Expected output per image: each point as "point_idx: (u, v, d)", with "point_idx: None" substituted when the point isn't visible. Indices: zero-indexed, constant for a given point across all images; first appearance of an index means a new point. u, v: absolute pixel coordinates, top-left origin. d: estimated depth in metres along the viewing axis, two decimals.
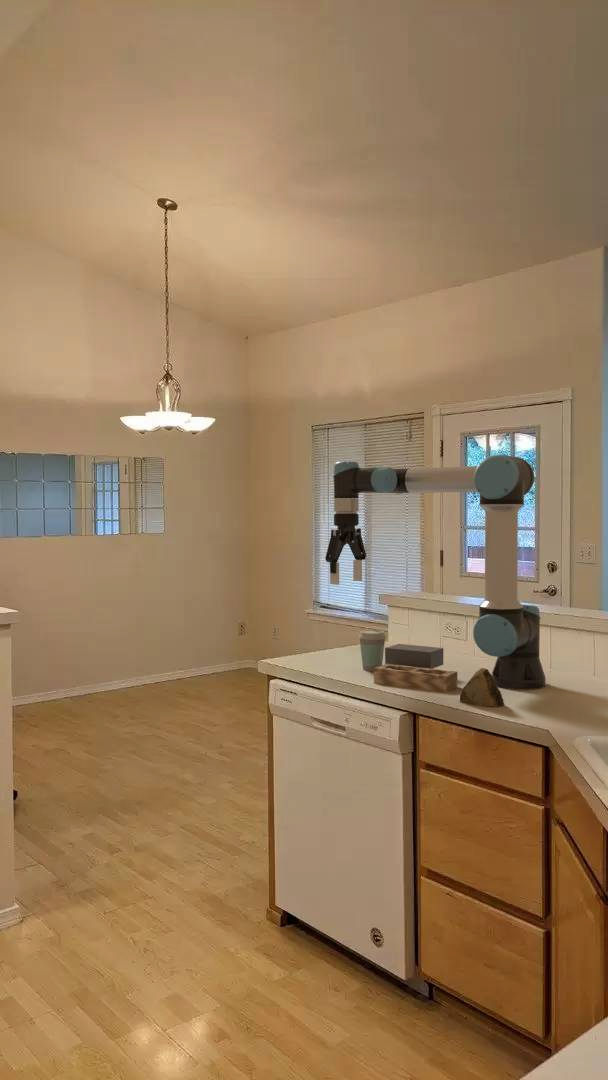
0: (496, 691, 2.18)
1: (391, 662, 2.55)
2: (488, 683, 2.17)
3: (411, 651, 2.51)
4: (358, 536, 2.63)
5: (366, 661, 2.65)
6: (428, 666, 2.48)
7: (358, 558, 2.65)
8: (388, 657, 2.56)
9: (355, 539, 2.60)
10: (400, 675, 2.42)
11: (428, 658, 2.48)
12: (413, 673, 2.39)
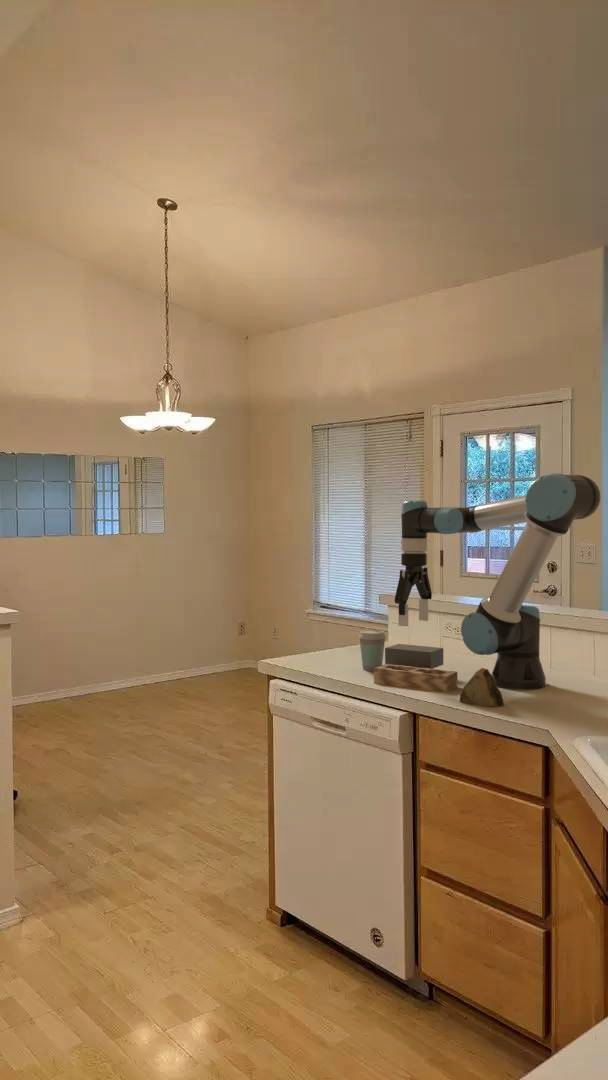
0: (496, 691, 2.18)
1: (391, 662, 2.55)
2: (488, 683, 2.17)
3: (411, 651, 2.51)
4: (425, 575, 2.59)
5: (366, 661, 2.65)
6: (428, 666, 2.48)
7: (424, 597, 2.61)
8: (388, 657, 2.56)
9: (422, 579, 2.56)
10: (400, 675, 2.42)
11: (428, 658, 2.48)
12: (413, 673, 2.39)
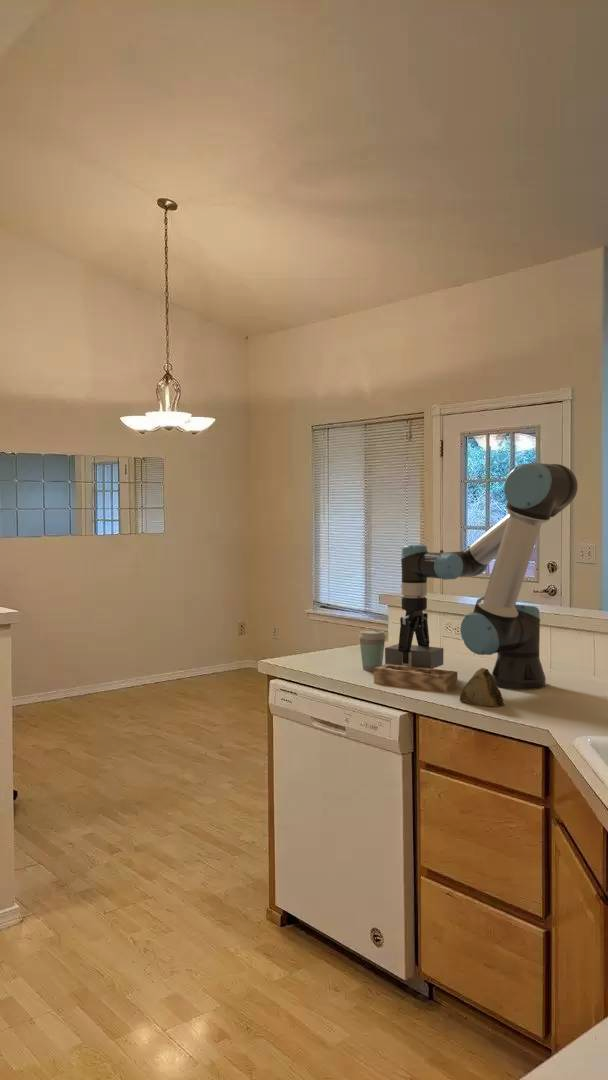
0: (496, 690, 2.18)
1: (391, 662, 2.55)
2: (488, 683, 2.17)
3: (411, 651, 2.51)
4: (424, 621, 2.59)
5: (366, 661, 2.65)
6: (428, 666, 2.48)
7: (421, 645, 2.60)
8: (388, 657, 2.56)
9: (422, 624, 2.56)
10: (400, 675, 2.42)
11: (429, 658, 2.48)
12: (413, 673, 2.39)
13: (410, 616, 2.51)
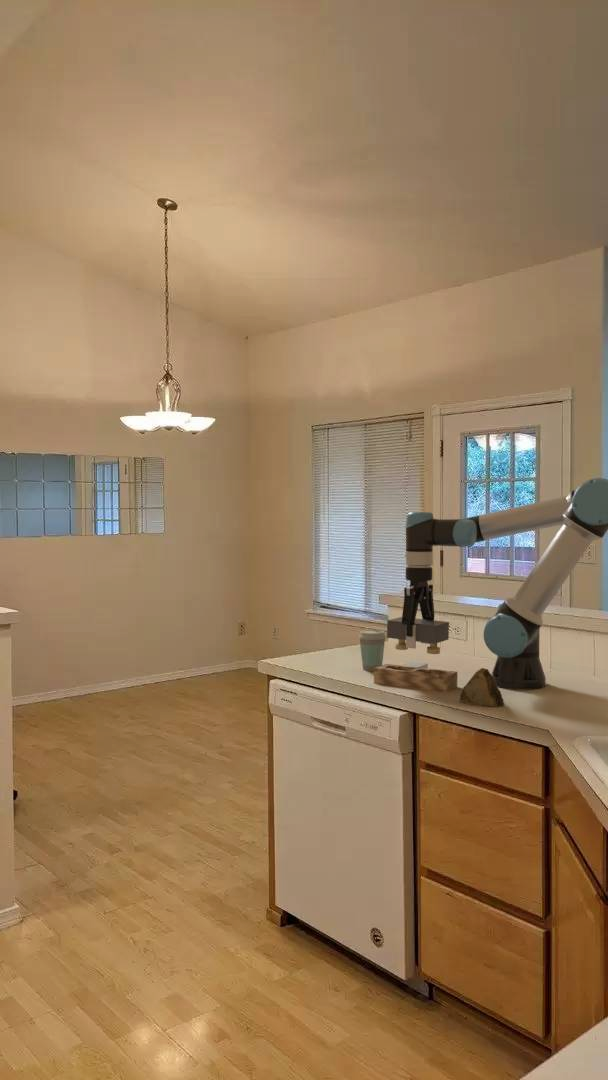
0: (496, 691, 2.18)
1: (393, 635, 2.42)
2: (488, 683, 2.17)
3: (415, 624, 2.38)
4: (429, 593, 2.46)
5: (366, 661, 2.65)
6: (432, 641, 2.35)
7: (426, 618, 2.46)
8: (390, 630, 2.42)
9: (427, 595, 2.43)
10: (400, 675, 2.42)
11: (433, 632, 2.35)
12: (413, 673, 2.39)
13: (415, 587, 2.38)
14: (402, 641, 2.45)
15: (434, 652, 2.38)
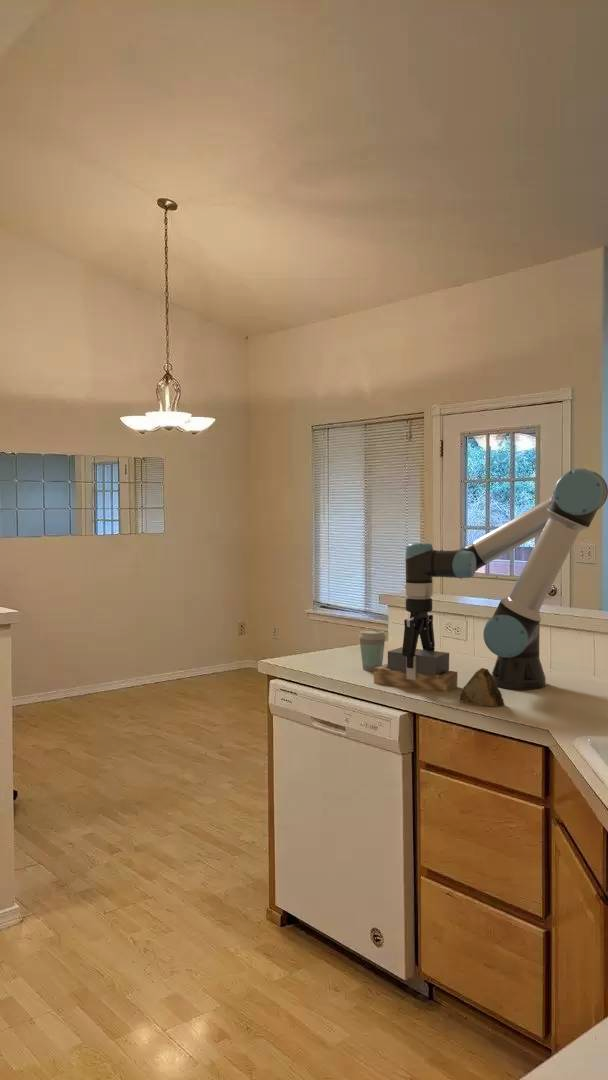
0: (496, 691, 2.18)
1: (394, 667, 2.42)
2: (488, 683, 2.17)
3: None
4: (429, 623, 2.46)
5: (366, 661, 2.65)
6: (433, 672, 2.35)
7: (426, 649, 2.47)
8: (390, 662, 2.43)
9: (427, 626, 2.43)
10: (400, 675, 2.42)
11: (434, 664, 2.35)
12: None
13: (415, 618, 2.38)
14: None
15: None
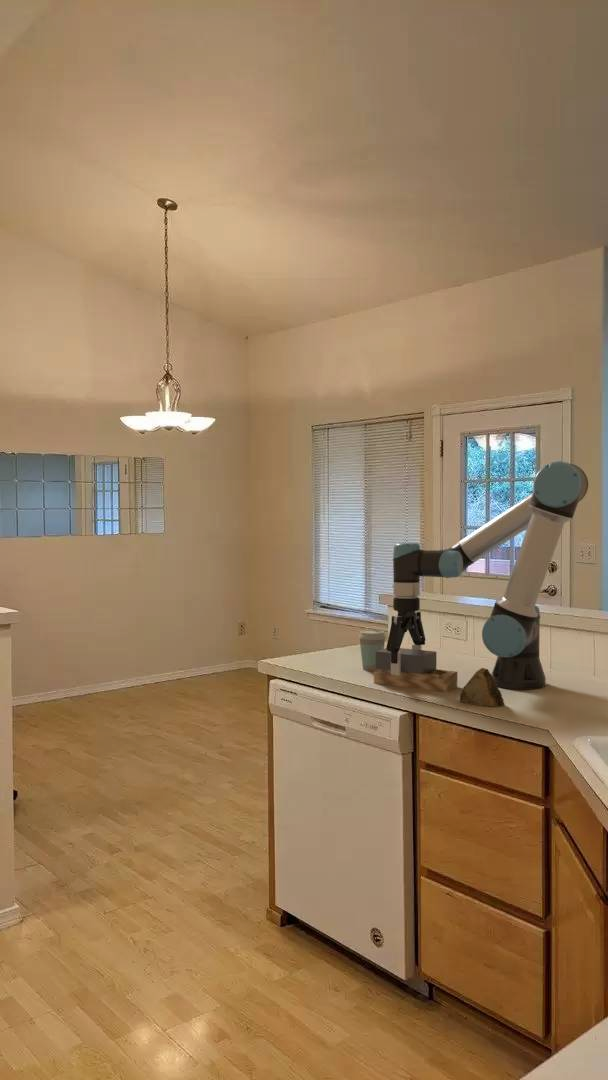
0: (496, 690, 2.18)
1: (382, 666, 2.44)
2: (488, 683, 2.17)
3: (402, 655, 2.41)
4: (418, 620, 2.49)
5: (366, 661, 2.65)
6: (420, 671, 2.38)
7: (417, 643, 2.50)
8: (378, 661, 2.45)
9: (415, 624, 2.46)
10: (400, 675, 2.42)
11: (421, 663, 2.37)
12: (413, 673, 2.39)
13: (402, 616, 2.41)
14: None
15: None
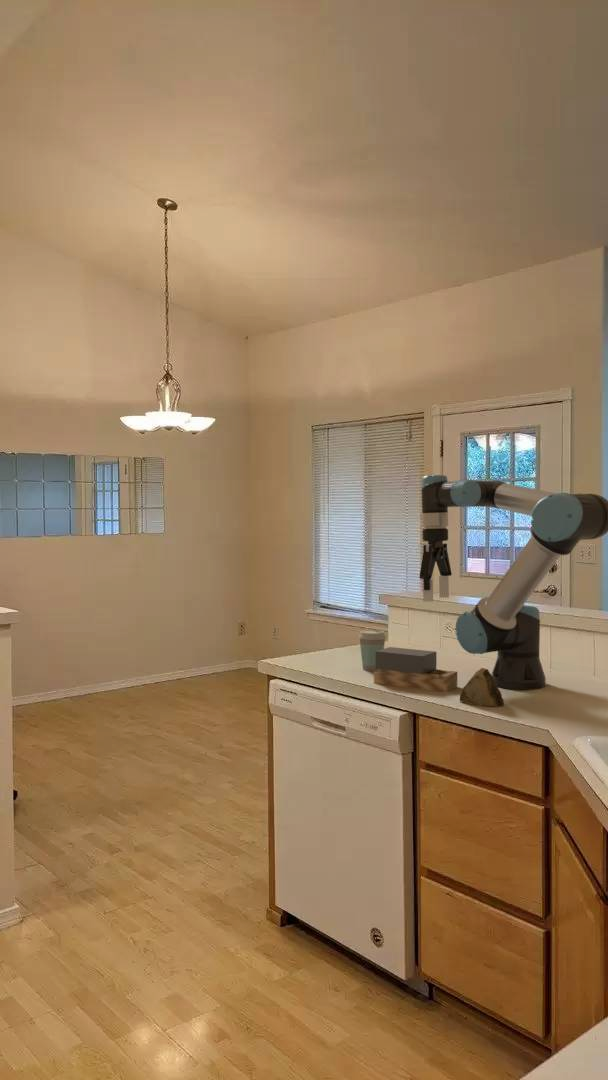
0: (496, 691, 2.18)
1: (382, 666, 2.44)
2: (488, 683, 2.17)
3: (402, 655, 2.41)
4: (445, 551, 2.57)
5: (366, 661, 2.65)
6: (420, 671, 2.38)
7: (444, 574, 2.59)
8: (378, 661, 2.45)
9: (444, 554, 2.54)
10: (400, 675, 2.42)
11: (421, 663, 2.37)
12: (413, 673, 2.39)
13: (433, 546, 2.48)
14: None
15: None
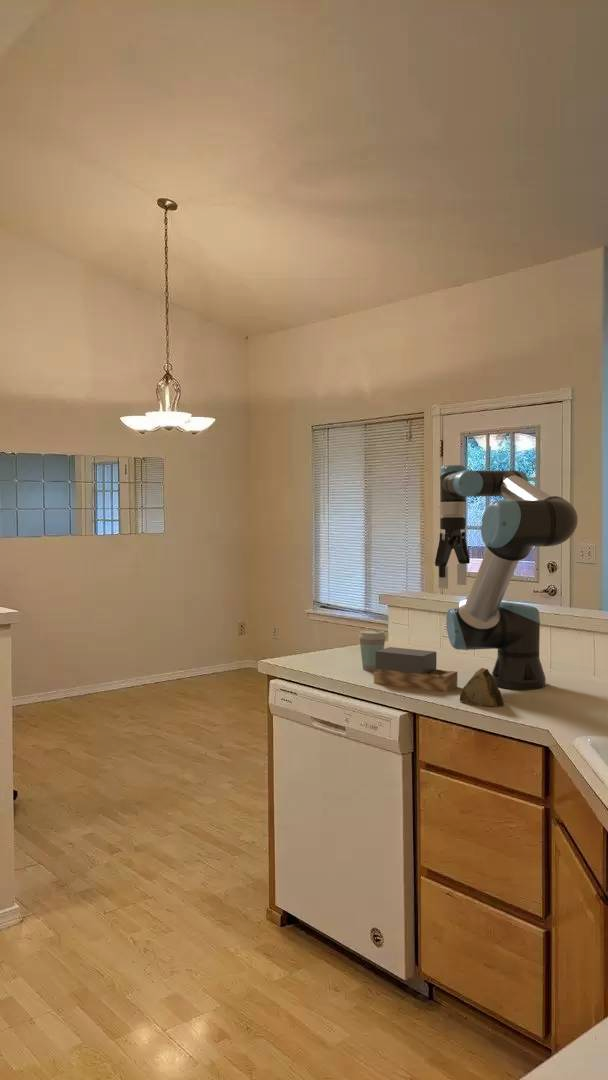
0: (496, 691, 2.18)
1: (382, 666, 2.44)
2: (488, 683, 2.17)
3: (402, 655, 2.41)
4: (463, 540, 2.63)
5: (366, 661, 2.65)
6: (420, 671, 2.38)
7: (462, 562, 2.64)
8: (378, 661, 2.45)
9: (461, 543, 2.60)
10: (400, 675, 2.42)
11: (421, 663, 2.37)
12: (413, 673, 2.39)
13: (449, 534, 2.54)
14: None
15: None
